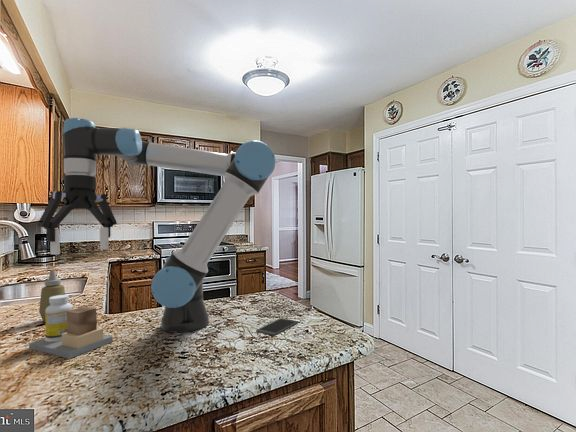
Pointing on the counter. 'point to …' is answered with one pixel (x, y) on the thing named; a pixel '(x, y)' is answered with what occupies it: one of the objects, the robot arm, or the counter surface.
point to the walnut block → (81, 320)
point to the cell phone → (277, 326)
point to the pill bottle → (57, 316)
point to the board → (65, 349)
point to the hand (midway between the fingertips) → (81, 251)
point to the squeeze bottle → (50, 292)
